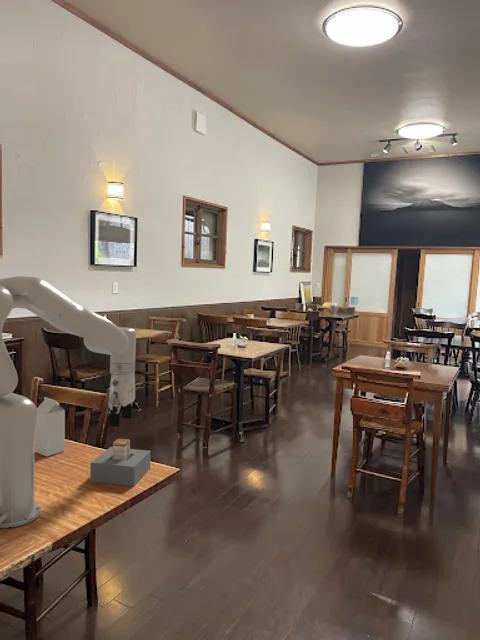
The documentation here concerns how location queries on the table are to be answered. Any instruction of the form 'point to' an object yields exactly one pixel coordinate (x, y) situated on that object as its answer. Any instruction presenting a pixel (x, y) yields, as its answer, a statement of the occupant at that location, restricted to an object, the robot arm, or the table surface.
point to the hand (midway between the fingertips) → (120, 421)
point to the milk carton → (50, 428)
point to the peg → (121, 449)
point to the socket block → (120, 468)
